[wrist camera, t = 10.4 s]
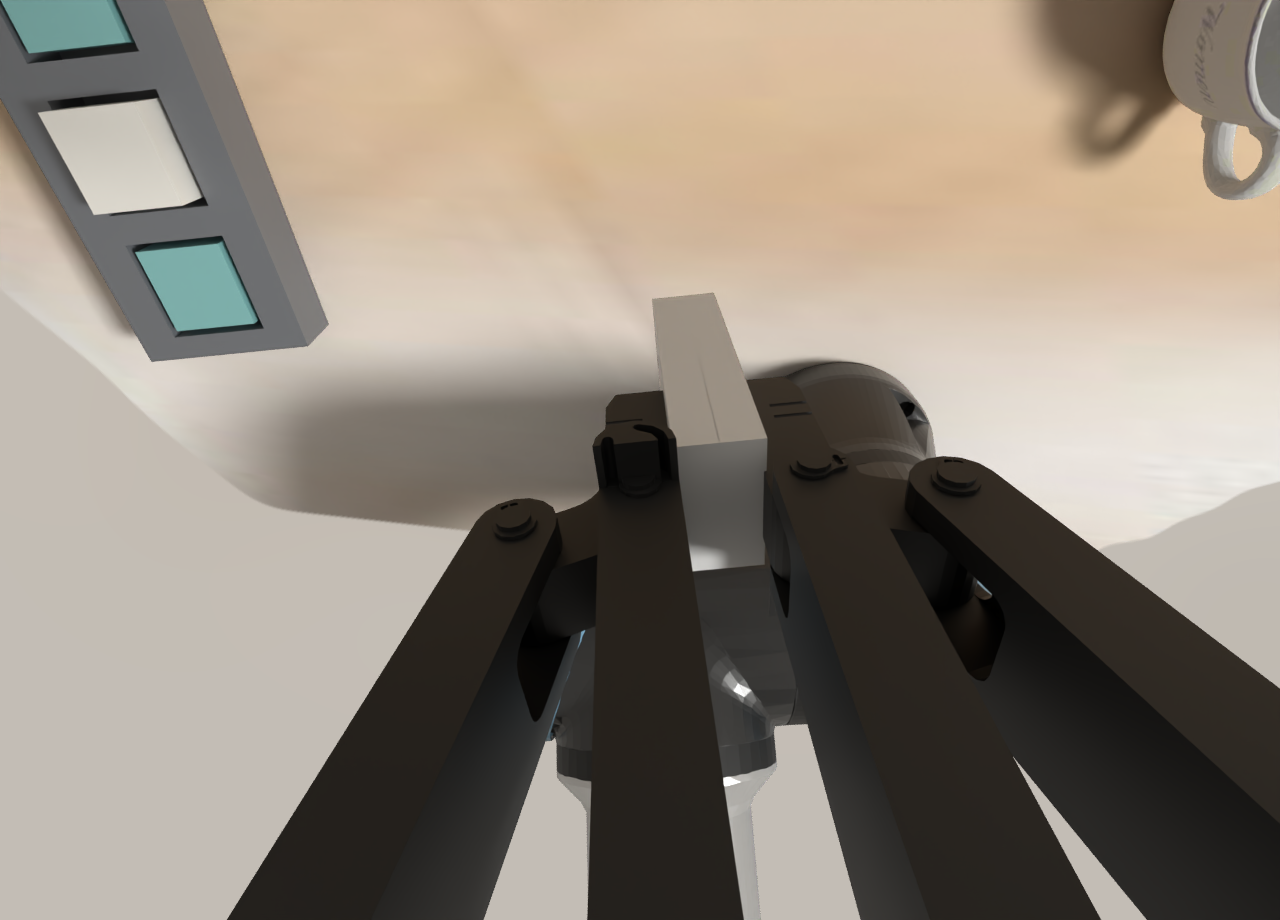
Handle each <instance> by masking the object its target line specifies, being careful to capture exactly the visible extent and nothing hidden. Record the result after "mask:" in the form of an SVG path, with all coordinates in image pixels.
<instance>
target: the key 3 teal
mask: <svg viewBox="0 0 1280 920" xmlns="http://www.w3.org/2000/svg"><path fill="white" fill-rule="evenodd" d="M1 2H2V4H3V6H4V8H5V9H6V11H7V13H8V15H9V17H10V19H11V21H12V23H13V24H14V26H15V28H16V30H17V32H18V34H19V36H20V38H21V39H22V41H23V43H24V45H25V47H26V49H27V51H28V53H44V52H63V51H73V50H81V49H90V48H99V47H108V46H117V45H126V44H135V41H134V39H133V37H132V34H131V32H130V30H129V28H128V26H127V23H126V21H125V19H124V17H123V14H122V12H121V10H120V8H119V6H118V3H117V1H116V0H1Z"/></svg>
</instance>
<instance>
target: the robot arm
mask: <svg viewBox="0 0 1280 920" xmlns="http://www.w3.org/2000/svg"><path fill="white" fill-rule="evenodd" d="M652 303H653V315H654V327H655V338H656V350H657V361H658V373H659V385H660V391H652V392H642V393H631V394H621V395H616V396H615V397H614V398H613V400H612V401H611V402H610V404H609V405H608V406H607V407H606V428H605V430H604V431H603V432H602V433H600V434H599V435H598V436H597V437H596V439H595V441H594V444H593V452H594V459H595V465H596V471H597V477H598V483H599V491H598V492H597V493H596V494H595V495H594V496H593V497H592V498H591V499H589V500H588V501H586V502H584V503H583V504H581V505H578V506H576V507H573V508H571V509H568V510H565V511H562V512H558V513H555V511H554V509H553V507H551V506H550V505H548V504H547V503H545V502H544V501H540V500H535V499H530V498H526V499H514V500H510V501H507V502H504V503H501V504H498V505H496V506H495V507H493V508H491V509H489V510H488V511H486V512H485V513H484V514H483V515H482V516H481V517H480V518H479V519H478V520H477V521H476V523H475V524H474V526H473V528H472V529H471V531H470V532H469V534H468V536H467V537H466V539H465V540H464V542H463V544H462V545H461V547H460V548H459V550H458V552H457V553H456V555H455V556H454V558H453V560H452V561H451V563H450V564H449V566H448V568H447V569H446V571H445V572H444V574H443V576H442V577H441V579H440V580H439V582H438V584H437V585H436V587H435V588H434V590H433V591H432V593H431V595H430V596H429V598H428V600H427V601H426V603H425V605H424V606H423V607H422V609H421V611H420V612H419V614H418V615H417V617H416V619H415V620H414V622H413V623H412V625H411V627H410V628H409V630H408V631H407V633H406V635H405V636H404V638H403V639H402V641H401V643H400V644H399V646H398V647H397V649H396V651H395V652H394V654H393V655H392V657H391V658H390V660H389V662H388V663H387V665H386V667H385V668H384V670H383V671H382V673H381V674H380V676H379V678H378V679H377V681H376V682H375V684H374V686H373V687H372V689H371V691H370V692H369V694H368V695H367V697H366V698H365V700H364V702H363V703H362V705H361V706H360V708H359V710H358V711H357V713H356V714H355V716H354V718H353V719H352V721H351V722H350V724H349V726H348V727H347V729H346V731H345V732H344V734H343V735H342V737H341V738H340V740H339V742H338V743H337V745H336V747H335V748H334V750H333V751H332V753H331V754H330V756H329V757H328V759H327V761H326V762H325V764H324V766H323V767H322V769H321V770H320V772H319V774H318V775H317V777H316V778H315V780H314V781H313V783H312V785H311V786H310V788H309V790H308V791H307V793H306V794H305V796H304V798H303V799H302V801H301V802H300V804H299V805H298V807H297V809H296V811H295V812H294V813H293V815H292V817H291V818H290V820H289V821H288V823H287V825H286V826H285V828H284V829H283V831H282V832H281V834H280V836H279V837H278V839H277V840H276V842H275V844H274V845H273V847H272V848H271V850H270V852H269V853H268V855H267V857H266V858H265V860H264V861H263V863H262V864H261V866H260V868H259V869H258V871H257V872H256V874H255V876H254V877H253V879H252V880H251V882H250V884H249V885H248V887H247V888H246V890H245V892H244V893H243V895H242V896H241V898H240V900H239V901H238V903H237V904H236V906H235V908H234V909H233V911H232V912H231V914H230V916H229V917H228V919H227V920H483V919H484V917H485V914H486V911H487V908H488V905H489V902H490V899H491V897H492V893H493V891H494V888H495V885H496V882H497V879H498V876H499V874H500V870H501V868H502V864H503V862H504V859H505V856H506V853H507V850H508V848H509V845H510V842H511V839H512V836H513V833H514V830H515V827H516V825H517V822H518V819H519V816H520V813H521V810H522V807H523V804H524V801H525V799H526V796H527V793H528V790H529V787H530V784H531V781H532V778H533V776H534V773H535V770H536V767H537V764H538V761H539V758H540V755H541V752H542V749H543V747H544V744H545V741H552V740H553V739H554V738H555V739H556V743H557V778H558V779H559V781H560V782H561V783H562V784H563V785H564V786H565V787H566V788H567V789H568V790H569V791H570V792H571V793H572V794H573V795H574V796H575V797H576V798H577V799H578V800H579V801H580V802H581V803H582V805H583V806H584V808H585V810H586V812H587V859H588V860H587V862H588V917H587V920H761V917H760V905H759V894H758V882H757V871H756V859H755V847H754V837H753V836H754V835H753V824H752V813H751V804H752V801H753V798H754V796H755V795H756V793H757V792H758V791H759V790H760V788H761V787H762V786H763V785H764V783H765V782H766V781H767V780H768V779H769V777H770V776H771V775H772V774H773V772H774V771H775V770H776V767H777V761H776V750H775V740H774V728H775V726H782V725H795V724H797V725H798V724H808V728H809V732H810V735H811V739H812V743H813V746H814V750H815V754H816V757H817V761H818V764H819V768H820V772H821V776H822V779H823V783H824V787H825V790H826V794H827V798H828V801H829V805H830V808H831V812H832V816H833V820H834V823H835V827H836V831H837V834H838V838H839V842H840V845H841V849H842V852H843V856H844V860H845V864H846V867H847V871H848V875H849V878H850V882H851V886H852V889H853V893H854V897H855V900H856V904H857V908H858V911H859V915H860V919H861V920H1101V919H1100V917H1099V915H1098V913H1097V911H1096V910H1095V908H1094V906H1093V904H1092V902H1091V900H1090V899H1089V897H1088V895H1087V893H1086V891H1085V889H1084V887H1083V886H1082V884H1081V882H1080V880H1079V878H1078V876H1077V874H1076V873H1075V871H1074V869H1073V867H1072V865H1071V863H1070V862H1069V860H1068V858H1067V856H1066V854H1065V852H1064V850H1063V849H1062V847H1061V845H1060V843H1059V841H1058V839H1057V837H1056V836H1055V834H1054V832H1053V830H1052V828H1051V826H1050V825H1049V823H1048V821H1047V819H1046V817H1045V816H1044V814H1043V811H1042V810H1041V808H1040V806H1039V804H1038V802H1037V800H1036V799H1035V797H1034V795H1033V793H1032V791H1031V789H1030V787H1029V786H1028V784H1027V782H1026V780H1025V778H1024V776H1023V774H1022V773H1021V771H1020V769H1019V767H1018V765H1017V763H1016V761H1017V762H1018V763H1019V764H1020V765H1021V767H1022V768H1023V769H1024V770H1025V771H1026V773H1027V774H1028V775H1029V776H1030V777H1031V779H1032V780H1033V781H1034V783H1035V784H1036V785H1037V786H1038V787H1039V788H1040V790H1041V791H1042V792H1043V794H1044V795H1045V796H1046V797H1047V798H1048V800H1049V801H1050V802H1051V803H1052V804H1053V806H1054V807H1055V808H1056V809H1057V811H1058V812H1059V813H1060V814H1061V815H1062V817H1063V818H1064V819H1065V820H1066V821H1067V823H1068V824H1069V825H1070V826H1071V828H1072V829H1073V830H1074V831H1075V832H1076V834H1077V835H1078V836H1079V837H1080V839H1081V840H1082V841H1083V842H1084V844H1085V845H1086V846H1087V847H1088V848H1089V849H1090V851H1091V852H1092V853H1093V855H1095V857H1096V858H1097V859H1098V861H1099V862H1100V863H1101V864H1102V866H1103V867H1104V868H1105V869H1106V870H1107V872H1108V873H1109V874H1110V875H1111V877H1112V878H1113V879H1114V880H1115V881H1116V882H1117V884H1118V885H1119V886H1120V887H1121V889H1122V890H1123V891H1124V892H1125V894H1126V895H1127V896H1128V897H1129V898H1130V900H1131V901H1132V902H1133V903H1134V905H1135V906H1136V907H1137V908H1138V909H1139V911H1140V912H1141V913H1142V914H1143V916H1144V917H1145V918H1146V919H1147V920H1280V688H1278V687H1277V686H1276V685H1274V684H1273V683H1272V682H1270V681H1269V680H1268V679H1266V678H1265V677H1264V676H1263V675H1261V674H1260V673H1259V672H1257V671H1256V670H1255V669H1253V668H1252V667H1251V666H1249V665H1248V664H1247V663H1245V662H1244V661H1243V660H1241V659H1240V658H1239V657H1237V656H1236V655H1235V654H1234V653H1232V652H1231V651H1229V650H1228V649H1227V648H1226V647H1224V646H1223V645H1222V644H1220V643H1219V642H1217V641H1216V640H1215V639H1214V638H1212V637H1211V636H1210V635H1208V634H1207V633H1206V632H1204V631H1203V630H1202V629H1201V628H1199V627H1198V626H1197V625H1195V624H1194V623H1192V622H1191V621H1190V620H1189V619H1187V618H1186V617H1185V616H1183V615H1182V614H1181V613H1179V612H1178V611H1177V610H1175V609H1174V608H1173V607H1172V606H1170V605H1169V604H1168V603H1166V602H1165V601H1164V600H1162V599H1161V598H1159V597H1158V596H1157V595H1156V594H1154V593H1153V592H1152V591H1150V590H1149V589H1148V588H1146V587H1145V586H1144V585H1142V584H1141V583H1140V582H1138V581H1137V580H1136V579H1135V578H1133V577H1132V576H1131V575H1129V574H1128V573H1127V572H1125V571H1124V570H1123V569H1121V568H1120V567H1119V566H1117V565H1116V564H1115V563H1113V562H1112V561H1111V560H1110V559H1108V558H1107V557H1105V556H1104V555H1103V554H1102V553H1100V552H1099V551H1098V550H1096V549H1095V548H1094V547H1092V546H1091V545H1090V544H1088V543H1087V542H1086V541H1084V540H1083V539H1082V538H1080V537H1079V536H1078V535H1077V534H1075V533H1074V532H1073V531H1071V530H1070V529H1069V528H1067V527H1066V526H1065V525H1063V524H1062V523H1061V522H1059V521H1058V520H1057V519H1055V518H1054V517H1053V516H1051V515H1050V514H1049V513H1048V512H1046V511H1045V510H1044V509H1042V508H1041V507H1040V506H1038V505H1037V504H1036V503H1034V502H1033V501H1032V500H1030V499H1029V498H1028V497H1026V496H1025V495H1024V494H1022V493H1021V492H1020V491H1018V490H1017V489H1016V488H1015V487H1013V486H1012V485H1011V484H1009V483H1008V482H1007V481H1005V480H1004V479H1003V478H1001V477H1000V476H999V475H997V474H996V473H995V472H993V471H992V470H990V469H988V468H987V467H985V466H983V465H981V464H979V463H977V462H973V461H970V460H967V459H963V458H958V457H946V456H942V457H936V453H935V446H934V439H933V433H932V429H931V425H930V422H929V420H928V418H927V416H926V413H925V412H924V410H923V408H922V407H921V405H920V404H919V403H918V401H917V400H916V399H915V398H914V396H913V395H912V394H911V393H910V391H909V390H908V389H907V388H906V387H905V386H904V385H903V384H902V383H901V382H900V381H898V380H897V379H896V378H894V377H893V376H891V375H890V374H888V373H886V372H884V371H881V370H879V369H876V368H873V367H870V366H866V365H861V364H854V363H831V364H823V365H818V366H814V367H810V368H806V369H803V370H800V371H798V372H795V373H793V374H791V375H789V376H787V377H775V378H765V379H755V380H746V379H745V376H744V373H743V371H742V368H741V365H740V363H739V360H738V357H737V354H736V352H735V349H734V346H733V344H732V341H731V338H730V335H729V333H728V330H727V327H726V325H725V322H724V319H723V316H722V314H721V311H720V308H719V306H718V303H717V300H716V297H715V295H714V293H707V294H697V295H688V296H678V297H668V298H658V299H652ZM1013 757H1014V758H1015V759H1016V761H1015V760H1014V758H1013Z"/></svg>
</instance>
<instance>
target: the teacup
mask: <svg viewBox="0 0 1280 920" xmlns="http://www.w3.org/2000/svg"><path fill="white" fill-rule="evenodd" d="M1163 65H1164V71H1165V75H1166V78H1167V81H1168V84H1169V86H1170V88H1171V90H1172V92H1173V93H1174V95H1175V96H1176V97H1177V99H1178V100H1179V101H1180V102H1181V103H1182V104H1183V105H1185V106H1186V107H1188V108H1189V109H1191V110H1192V111H1194V112H1196V113H1198V114H1200V115H1202V121H1201V127H1202V129H1203V131H1204V133H1205V140H1204V153H1203V173H1204V179H1205V182H1206V184H1207V187H1208V188H1209V189H1210V191H1211V192H1212V193H1214V194H1215V195H1216V196H1218V197H1221V198H1223V199H1228V200H1244V199H1252V198H1255V197H1258V196H1260V195H1263V194H1265V193H1267V192H1269V191H1270V190H1272V189H1273V188H1274V187H1276V186H1277V185H1278V184H1279V183H1280V0H1175V1H1174V3H1173V6H1172V9H1171V12H1170V14H1169V17H1168V21H1167V25H1166V30H1165V34H1164V41H1163ZM1238 125H1241V126H1246V127H1248V128H1249V131H1250V134H1251V135H1253V136H1254V137H1256V138H1257V139H1258V140H1259V141H1260V143H1261V146H1262V158H1261V160H1260V162H1259V164H1258V166H1257V168H1256V169H1255V171H1254V172H1253V173H1252V174H1251V175H1250V176H1249V177H1248V178H1246V179H1244V180H1242V181H1240V180H1239V179H1238V178H1237V176H1236V175H1235V172H1234V167H1233V145H1234V138H1235V133H1236V128H1237V126H1238Z"/></svg>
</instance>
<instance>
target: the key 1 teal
mask: <svg viewBox="0 0 1280 920" xmlns="http://www.w3.org/2000/svg"><path fill="white" fill-rule="evenodd" d="M135 253H136V255H137V257H138V259H139V261H140V263H141V264H142V266H143V268H144V270H145V272H146V274H147V276H148V278H149V279H150V281H151V283H152V285H153V287H154V289H155V291H156V293H157V294H158V296H159V298H160V300H161V302H162V304H163V306H164V308H165V309H166V311H167V313H168V315H169V317H170V319H171V321H172V323H173V324H174V326H175V328H176V330H177V331H185V330H195V329H205V328H215V327H225V326H235V325H245V324H254V323H256V322H257V321H258V320H259V316H258V314H257V312H256V310H255V308H254V305H253V303H252V301H251V299H250V296H249V294H248V292H247V290H246V288H245V285H244V283H243V281H242V279H241V276H240V274H239V272H238V270H237V268H236V265H235V263H234V261H233V259H232V256H231V254H230V252H229V250H228V248H227V245H226V243H225V241H224V239H223V237H222V236H214V237H204V238H194V239H185V240H175V241H166V242H156V243H154V244H152V245H150V246H147V247H145V248H143V249H141V250H139V251H137V252H135Z"/></svg>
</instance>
